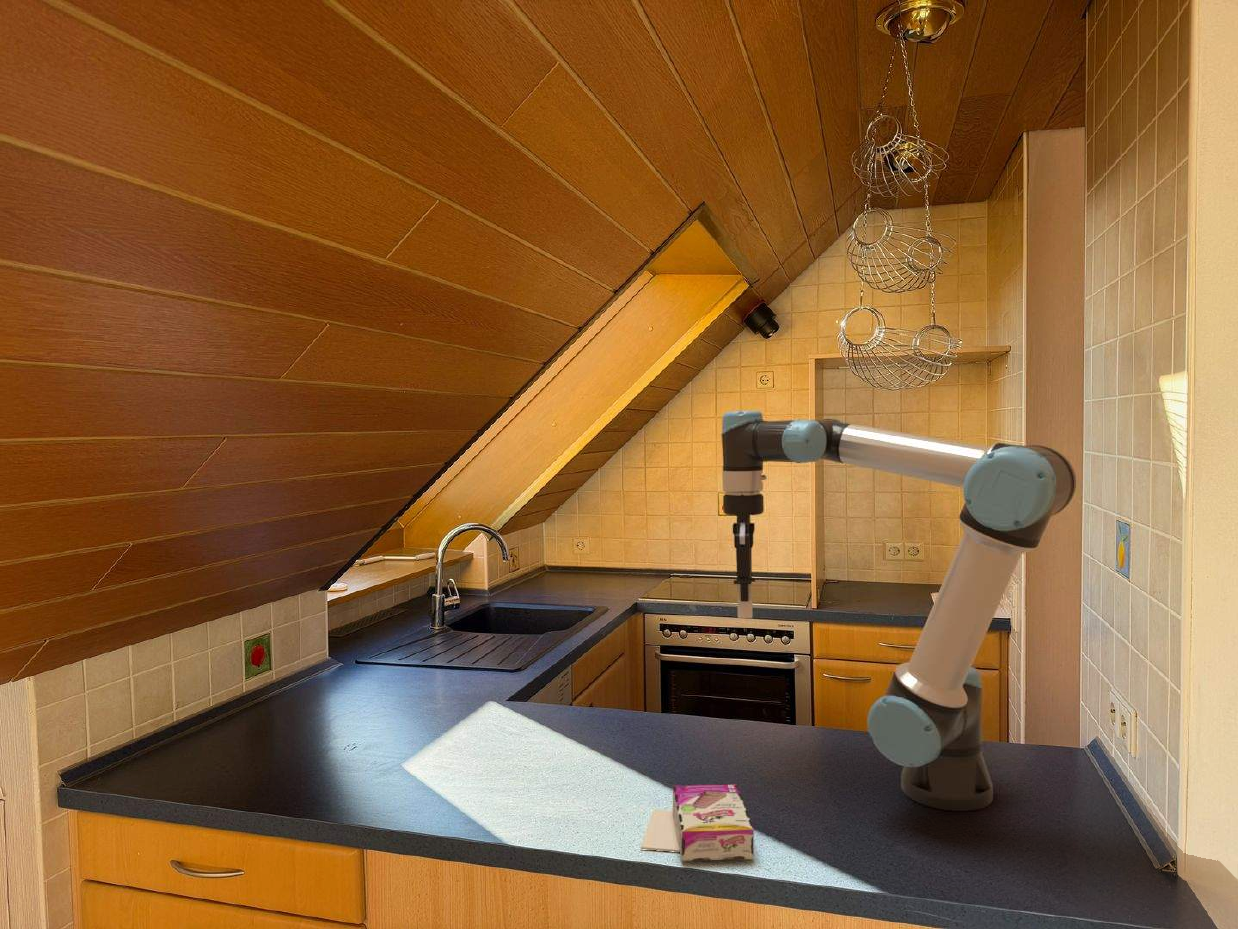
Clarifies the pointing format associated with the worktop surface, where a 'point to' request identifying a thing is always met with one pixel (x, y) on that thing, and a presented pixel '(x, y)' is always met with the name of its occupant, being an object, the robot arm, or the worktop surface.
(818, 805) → the worktop surface
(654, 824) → the mat
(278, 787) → the worktop surface
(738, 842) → the candy bar box
